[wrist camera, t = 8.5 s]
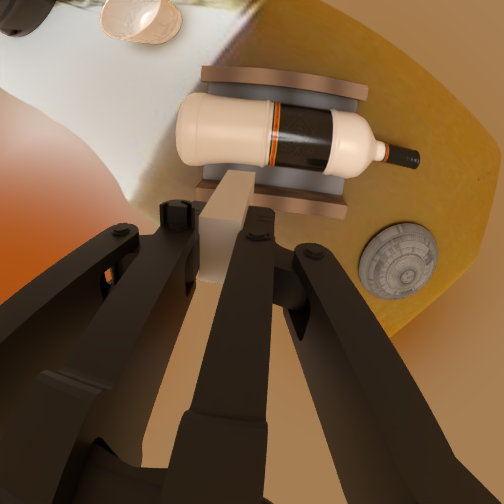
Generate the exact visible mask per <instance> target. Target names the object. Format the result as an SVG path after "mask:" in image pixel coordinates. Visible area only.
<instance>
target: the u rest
mask: <svg viewBox="0 0 504 504" xmlns="http://www.w3.org/2000/svg"><path fill="white" fill-rule="evenodd" d="M201 81H203V82H208V94H210V95H215V96H223V97H230V98H239V99H247V100H265V101H266V100H270V101H271V102H272V103H274V102H280V103H289V104H297V105H304V106H311V107H317V108H323V109H329V110H330V109H335V110H337V111H344V112H353V113H356V111H357V104H358V101H367V96H368V88H369V86H366V85H362V84H358V83H353V82H349V81H344V80H339V79H334V78H329V77H324V76H318V75H312V74H306V73H299V72H291V71H283V70H274V69H264V68H251V67H234V66H202V71H201ZM228 170H237V171H247V172H256V173H255V183H254V193H253V204H252V206H259V207H268V208H271V209H272V210H276V211H285V212H293V213H300V214H308V215H315V216H323V217H330V218H337V219H344V220H345V216H346V211H347V207H348V206H347V204H346V202H345V200H344V199H343V197H342V191H343V186H344V181H345V178H342V177H338V176H335V175H331V174H329V175H325V174H323V173H320V172H313V171H306V170H298V169H290V168H281V167H272V166H268V165H265V166H264V167H260V166H255V165H248V164H236V163H216V164H206V165H204V170H203V180H202V181H201V182H200V183H199V185H198V186H197V187H196V201H203V202H208V201H209V199H210V198H211V196H212V194H213V193H214V191H215V190H216V188H217V186H218V185H219V183H220V182H221V180H222V179H223V177H224V176H225V174H226V172H227V171H228Z"/></svg>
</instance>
